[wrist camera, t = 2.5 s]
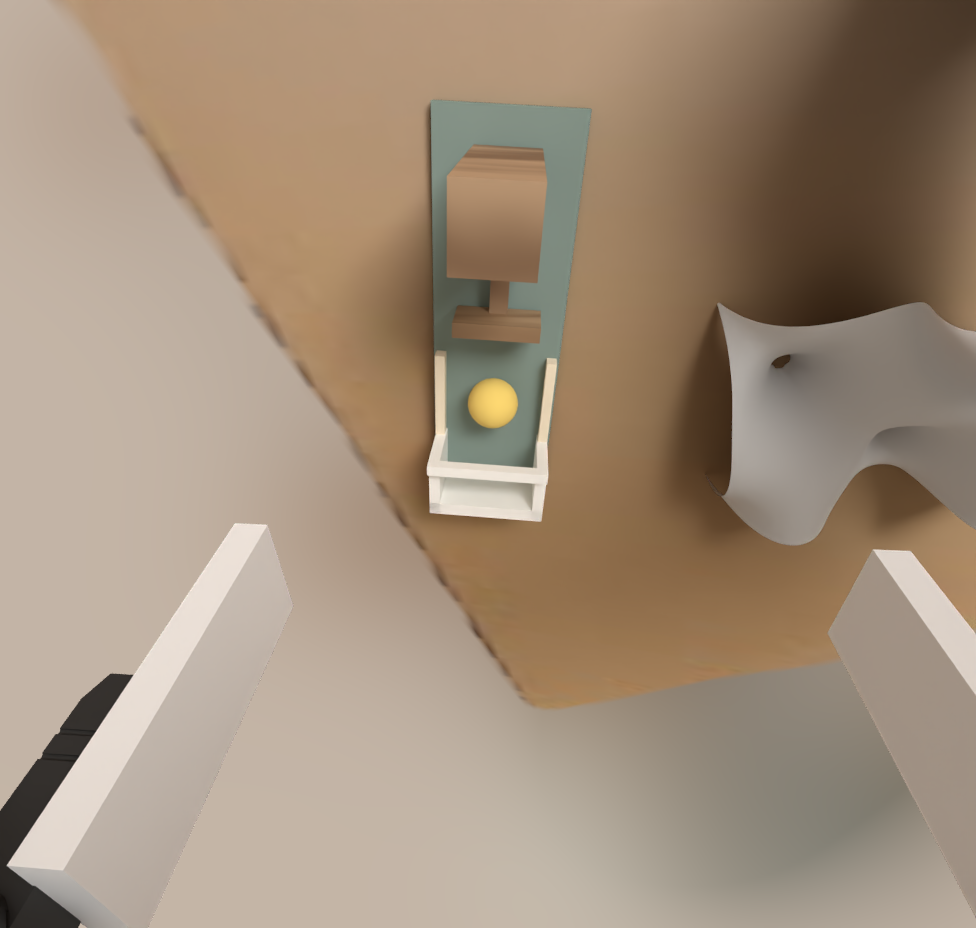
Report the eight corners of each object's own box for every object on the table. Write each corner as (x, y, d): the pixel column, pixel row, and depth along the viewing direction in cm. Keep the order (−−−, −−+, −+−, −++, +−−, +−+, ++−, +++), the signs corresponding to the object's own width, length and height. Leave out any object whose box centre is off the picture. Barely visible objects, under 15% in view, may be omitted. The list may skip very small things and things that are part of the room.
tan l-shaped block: (459, 143, 32) (426, 174, 22) (556, 149, 32) (567, 183, 22) (457, 319, 38) (431, 405, 28) (539, 325, 38) (540, 413, 28)
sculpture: (701, 504, 47) (735, 591, 39) (716, 284, 37) (767, 342, 29) (1031, 478, 44) (1141, 568, 36) (1154, 224, 33) (1352, 272, 25)
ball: (470, 367, 40) (466, 391, 37) (520, 371, 40) (519, 394, 37) (469, 410, 42) (465, 435, 39) (516, 414, 42) (515, 439, 39)
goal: (437, 427, 43) (426, 466, 39) (546, 435, 43) (548, 475, 39) (438, 478, 46) (428, 519, 42) (540, 485, 46) (541, 528, 42)
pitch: (432, 99, 31) (427, 100, 30) (590, 108, 31) (593, 110, 30) (436, 478, 47) (433, 489, 46) (542, 486, 47) (542, 498, 46)
